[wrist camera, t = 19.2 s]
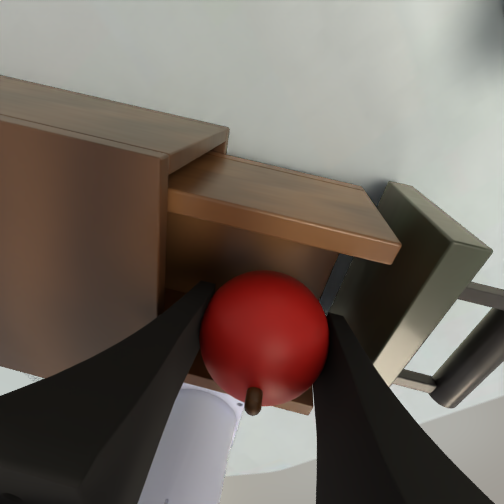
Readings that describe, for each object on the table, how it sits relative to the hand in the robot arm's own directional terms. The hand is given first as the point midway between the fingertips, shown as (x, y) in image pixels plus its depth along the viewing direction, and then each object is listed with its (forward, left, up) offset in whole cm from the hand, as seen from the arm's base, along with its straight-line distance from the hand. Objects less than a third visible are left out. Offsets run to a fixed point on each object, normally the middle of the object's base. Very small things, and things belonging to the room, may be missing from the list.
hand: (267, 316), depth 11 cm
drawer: (0, -1, -6) cm, 6 cm away
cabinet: (0, +11, -6) cm, 13 cm away
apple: (0, 0, +1) cm, 1 cm away
